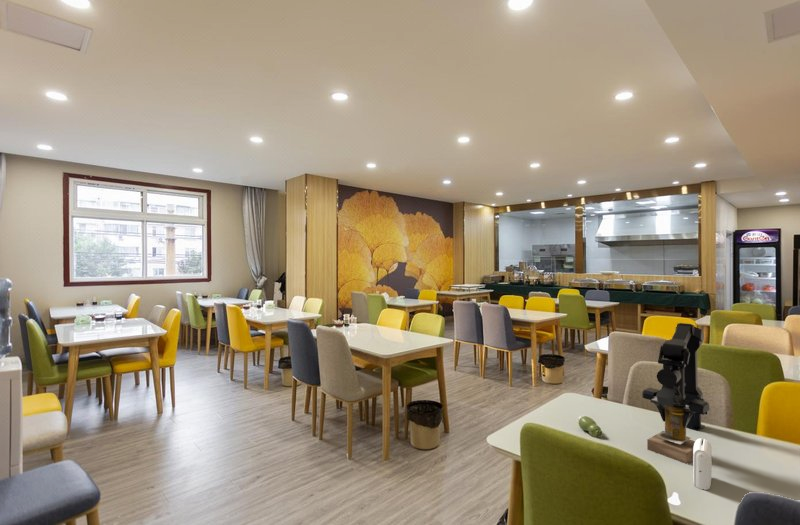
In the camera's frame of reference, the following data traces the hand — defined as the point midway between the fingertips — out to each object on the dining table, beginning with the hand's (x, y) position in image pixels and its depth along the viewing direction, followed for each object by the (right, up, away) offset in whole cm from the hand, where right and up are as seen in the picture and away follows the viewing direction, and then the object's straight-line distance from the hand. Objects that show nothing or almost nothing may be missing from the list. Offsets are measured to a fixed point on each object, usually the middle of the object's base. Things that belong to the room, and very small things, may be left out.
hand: (674, 424), depth 138 cm
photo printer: (-4, -10, -19) cm, 21 cm away
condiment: (0, -5, 0) cm, 5 cm away
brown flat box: (0, -10, 0) cm, 10 cm away
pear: (-22, -10, +16) cm, 28 cm away
